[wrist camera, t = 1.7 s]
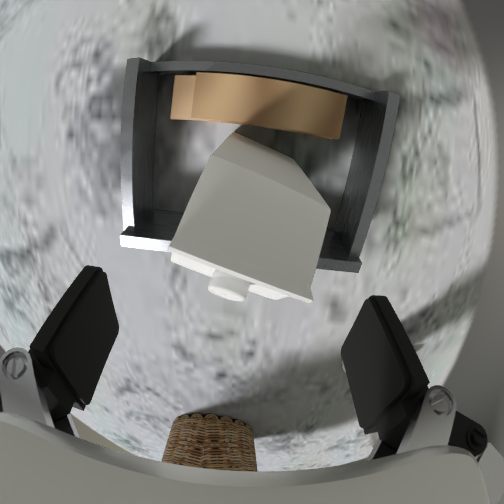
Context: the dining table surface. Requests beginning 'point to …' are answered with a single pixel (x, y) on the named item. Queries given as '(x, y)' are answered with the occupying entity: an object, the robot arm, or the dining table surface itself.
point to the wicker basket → (211, 443)
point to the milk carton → (252, 224)
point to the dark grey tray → (148, 75)
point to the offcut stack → (258, 103)
